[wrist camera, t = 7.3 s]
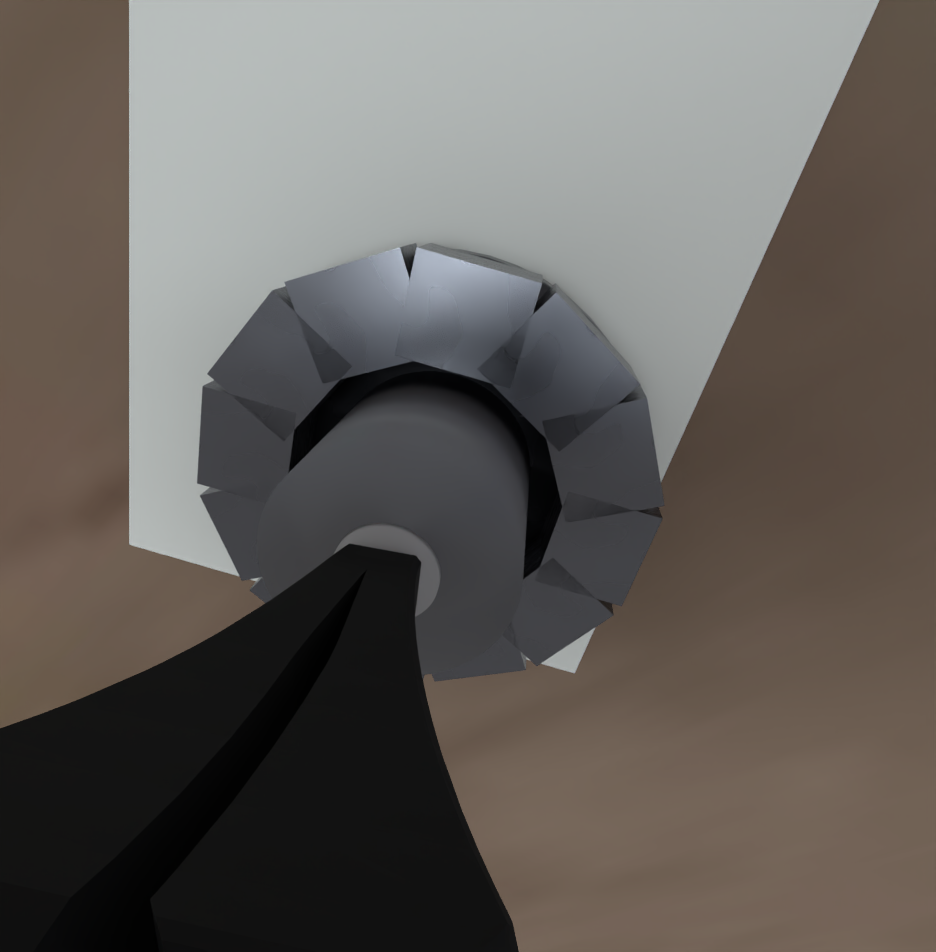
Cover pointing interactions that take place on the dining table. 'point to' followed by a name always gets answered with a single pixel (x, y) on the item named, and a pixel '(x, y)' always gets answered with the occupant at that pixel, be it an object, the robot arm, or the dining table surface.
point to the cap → (415, 506)
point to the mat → (456, 179)
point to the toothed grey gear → (478, 359)
